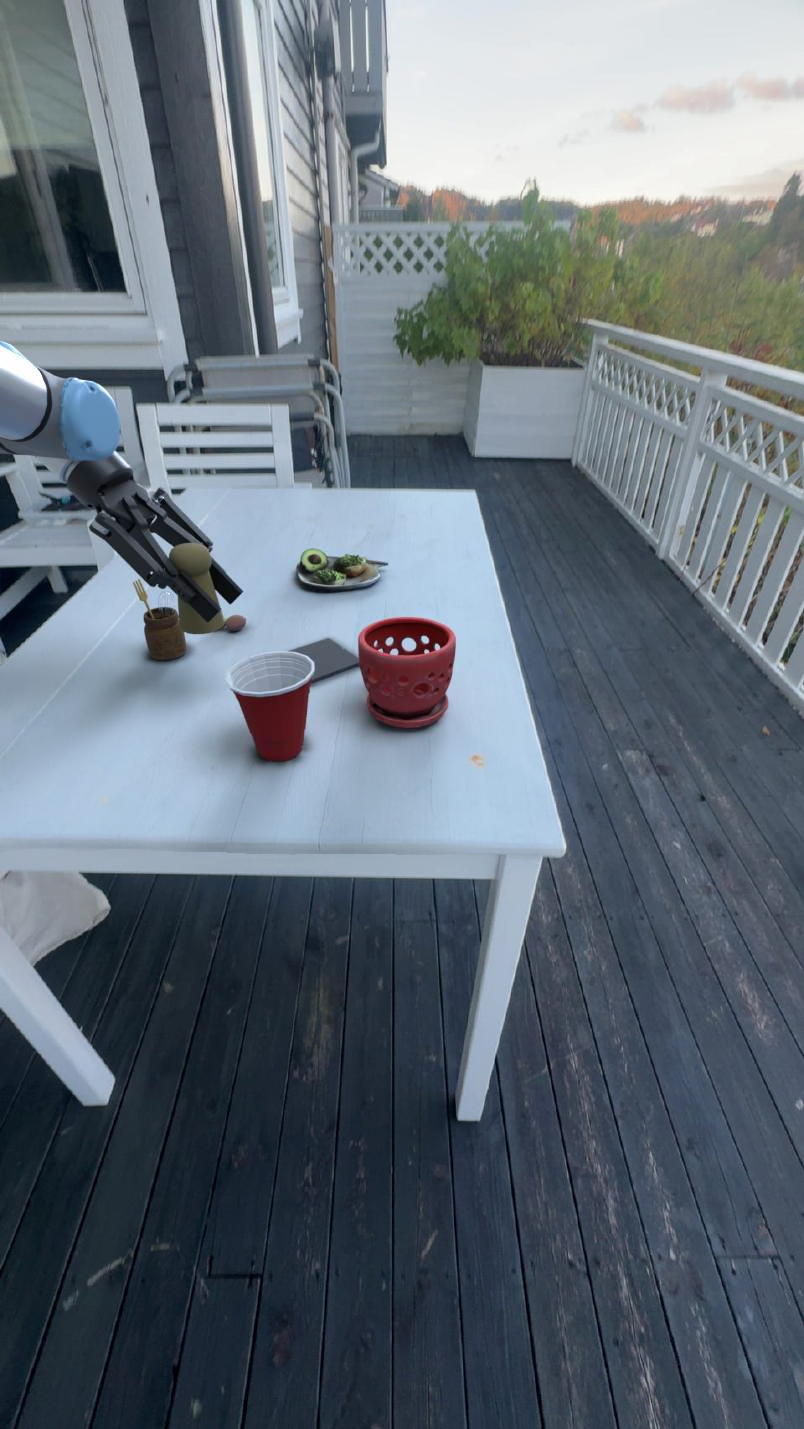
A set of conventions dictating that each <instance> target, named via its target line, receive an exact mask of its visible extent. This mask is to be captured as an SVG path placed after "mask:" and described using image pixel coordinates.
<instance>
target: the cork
mask: <svg viewBox="0 0 804 1429" xmlns="http://www.w3.org/2000/svg"><path fill="white" fill-rule="evenodd" d="M211 556H212V555H211V552H210V553H209V550H208V549H207V548H206V547H205V546H204V545H201V544H198V543H184V544H180V545H177V546H175V547H172V548H171V549H170V551H169V553H168V558H169V559H170V561H171V562H172V564H173V565H174V566H175V568H176V569H177V571H178V573H177V575H179V573H180V572H182V571H183V570H184V571H185V572H186V573H187V574H188V575H189V576H190V577H191V578H192V579H193V580H194V581H195V582H196V583H197V584H198V585H199V586H200V587H201V588H202V589H203V590H204V591H205V592H206V593H207V594H208V595H209V596H210V597H211V598H212V599H213V600H214V601H215V602H216V603H217V604H218V605H219V607H220V608H221V605H220V600H219V598H218V595H217V591H216V590H215V588H214V585H213V582H212V579H211V576H210V573H209V568H210V566H211V561H212V560H211ZM177 608H178V609H177V610H178V611H177V613H178V616H179V619H178V620H179V627H180V629H181V630H182V631H183V632H184V633H185V634H189V635H206V634H211V633H214V632H216V631H219V630H220V629H223V628H224V627H223V626H224V623H225V620H224V619H225V618H224V614H223V611H222V609H221V610H220V611H219V612H218V613H217V614H216V615H215V617H214V618H213V619H212V620H211V621H209V622H208V623H207V622H206V621H205V620H204V619H203V618H202V617H201V616H200V615H199V614H198V613H197V612H196V611H195V610H194V609H193V608H192V607H191V606H190V605H189V604H188V603H185V602H184V601H182V600H181V599H180V597H178V596H177ZM222 627H223V628H222Z"/></svg>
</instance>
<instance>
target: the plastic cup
mask: <svg viewBox="0 0 804 1429" xmlns="http://www.w3.org/2000/svg"><path fill="white" fill-rule="evenodd" d="M314 671H315V668H314V662H313V661H312V660H311V659H310V658H309V657H308V656H306V655H303V654H300V653H297V652H288V651H287V650H286V651H285V650H277V651H268V652H267V651H266V652H261V653H258V654H254V655H250V656H247V657H245V658H243V659H241V660H240V661H237V662H235V663H233V664H232V666H231V667H229V668H228V669H227V670H226V671H225V675H224V679H223V681H224V683H225V684H226V686H227V687H228V688H229V690H230V691H231V692H232V693H233V695H234V697H235V699H236V700H237V702H238V704H239V707H240V710H241V712H242V715H243V718H244V721H245V723H246V726H247V729H248V731H249V734H250V735H251V737H252V741H253V743H254V746H255V749H256V750H257V753H258V754H259V756H260V758H263V759H265V760H266V761H270V762H275V763H277V762H286V761H289V760H292V759H294V758H296V757H297V756H298V755H300V753H301V751H302V750H303V746H304V741H305V730H306V727H307V719H308V707H309V699H310V698H309V696H310V694H311V693H310V692H311V685H312V683H311V679H312V676H313V675H314Z"/></svg>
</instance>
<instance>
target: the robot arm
mask: <svg viewBox="0 0 804 1429" xmlns="http://www.w3.org/2000/svg"><path fill="white" fill-rule="evenodd" d="M121 428H122V427H121V418H120V414H119V410H118V407H117V405H116V403H115V400H114V399H113V397H112V396H111V394H110V393H109V392H108V390H106V388H104V387H103V386H102V385H101V384H99V383H97V382H95V381H91V380H85V379H80V378H78V377H68V378H63V377H60V376H57V375H54V374H52V373H50V372H48V371H47V370H45V369H43V368H41V367H40V366H38V365H36V364H34V363H33V362H31V361H30V360H29V359H28V358H27V357H26V356H24V355H23V354H22V353H21V352H20V351H19V350H18V349H16V347H14V346H13V345H12V344H10V343H8V342H6V341H2V340H0V454H1V455H2V454H3V455H15V456H32V457H35V458H37V460H39V461H40V463H41V464H43V466H44V467H46V468H47V470H49V472H50V473H51V474H53V476H55V478H56V479H57V480H58V481H60V482H61V483H62V484H66V489H67V490H68V491H69V492H70V493H71V494H72V495H73V496H74V497H75V498H76V499H77V500H78V501H79V502H80V503H81V504H82V505H83V506H84V507H85V508H86V509H88V510H91V511H95V513H96V516H95V517H94V518H93V520H92V521H91V523H90V525H89V526H88V529H89V531H90V532H91V533H92V534H94V535H96V536H97V537H99V538H100V539H101V540H103V541H105V542H106V543H107V544H108V545H109V546H110V547H111V548H112V550H114V552H115V553H116V554H118V555H119V556H120V558H122V560H124V562H125V563H126V564H127V565H128V566H129V567H130V568H131V569H132V570H133V571H134V572H135V573H136V574H137V575H138V576H139V577H140V578H141V579H142V580H143V581H144V582H145V583H146V584H147V585H148V586H149V587H151V588H155V587H156V586H157V587H158V588H159V589H160V590H165V589H166V588H167V587H168V588H169V589H170V590H171V591H172V592H173V593H174V594H175V595H176V596H177V598H178V597H180V599H181V600H182V601H184V602H185V603H188V604H189V605H190V606H191V607H192V608H193V609H194V610H195V611H196V612H197V613H198V614H199V615H200V616H201V617H202V618H203V619H204V620H205V621H206V622H207V623H208V622H209V621H211V620H212V619H213V618H214V617H215V615H216V614H217V613H218V612H219V611H220V610H221V611H222V607H221V606H220V607H219V605H218V604H217V603H216V602H215V601H214V600H213V599H212V598H211V597H210V596H209V595H208V594H207V593H206V592H205V591H204V590H203V589H202V588H201V587H200V586H199V585H198V584H197V583H196V582H195V581H194V580H193V579H192V578H191V577H190V576H189V575H188V574H187V573H186V572H185V571H184V570H183V571H182V572H180V573H179V575H177V573H178V571H177V569H176V568H175V566H174V565H173V564H172V562H171V561H170V559H169V556H168V555H167V553H166V552H165V551H164V549H163V547H162V546H161V545H160V544H159V542H158V541H157V540H156V537H155V536H154V535H153V534H156V535H157V536H159V537H160V538H161V539H162V540H164V541H165V542H166V543H168V544H169V545H171V546H172V548H174V547H175V546H177V545H180V544H184V543H198V544H201V545H204V546H205V547H206V548H207V549H208V550H209V553H210V554H211V552H212V551H213V550H214V542H213V541H212V539H211V538H210V537H208V535H206V533H204V532H203V530H202V529H201V528H200V527H199V526H198V525H197V524H196V523H195V522H194V521H193V520H192V518H190V517H189V516H188V515H187V514H186V513H185V512H184V511H183V510H182V509H181V508H180V507H179V506H178V505H177V503H175V502H174V501H173V499H172V498H171V496H170V494H169V492H168V491H167V490H166V489H165V488H164V487H161V486H159V487H158V488H157V489H156V491H148V489H147V488H145V487H144V486H142V485H141V484H139V483H138V482H136V481H135V478H134V470H133V468H132V466H131V465H130V464H128V462H127V461H126V460H125V459H124V458H123V457H122V456H121V455H120V454H119V453H118V451H116V450H117V448H118V446H119V443H120V440H121V436H120V434H121V432H120V431H121V430H120V429H121ZM211 560H212V561H211V566H210V568H209V573H210V576H211V579H212V582H213V585H214V588H215V592H216V593H218V594H219V595H220V596H221V597H222V598H223V600H224V601H226V603H227V604H228V605H232V604H233V603H234V602H235V601H236V600H237V599H238V598H239V597H240V596H241V595H242V594H243V593H244V590H243V589H242V588H241V587H240V586H239V585H238V584H237V583H236V582H235V581H234V580H233V579H232V578H231V577H230V576H229V575H228V574H227V572H226V570H225V569H224V568H223V567H222V566H221V565H220V564H219V563H218V562H217V561H216V560H215V558H214V557H213V556H212V555H211Z"/></svg>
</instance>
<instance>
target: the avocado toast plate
mask: <svg viewBox="0 0 804 1429" xmlns="http://www.w3.org/2000/svg"><path fill="white" fill-rule="evenodd" d="M388 565H389V562H388V561H380V560H373V559H369V558H367V556H361V555H359V554H357V555H356V554H350V553H345V554H344V555H339V556H336V555H335V556H334V555H327V554H326V553H325V552H324V551H323V550H321V549H318V548H307V549H306V550H304V551H303V552H302V554H301V555H300V560H299V561H298V562H297V563H296V566H295V569H296V575H297V578H298V582H299V583H300V585H301V587H303V588H305V589H307V590H308V591H312V592H318V593H328V592H329V593H330V592H343V591H349V590H357V589H360V588H366V587H370V586H371V585H373V584H374V583H376V582H377V581H379V580H380V579H381V575H380V573H379V570H378V569H379V568H382V567H387V566H388Z"/></svg>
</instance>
